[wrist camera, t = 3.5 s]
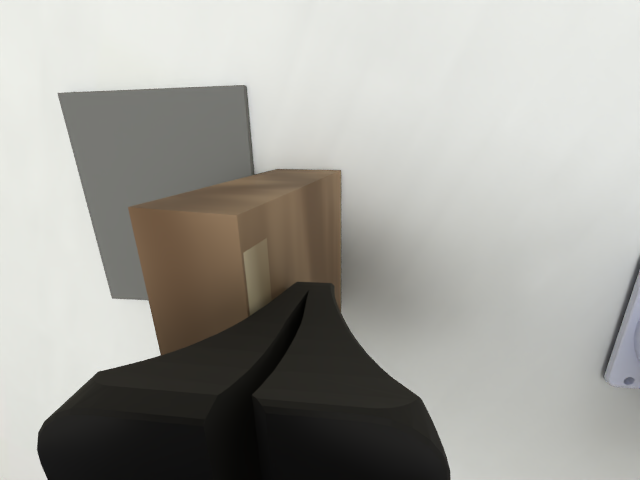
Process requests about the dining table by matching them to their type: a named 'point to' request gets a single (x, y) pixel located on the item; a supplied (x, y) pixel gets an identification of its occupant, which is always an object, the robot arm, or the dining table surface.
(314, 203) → the walnut slab
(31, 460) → the dining table surface
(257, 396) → the robot arm
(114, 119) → the rubber mat
